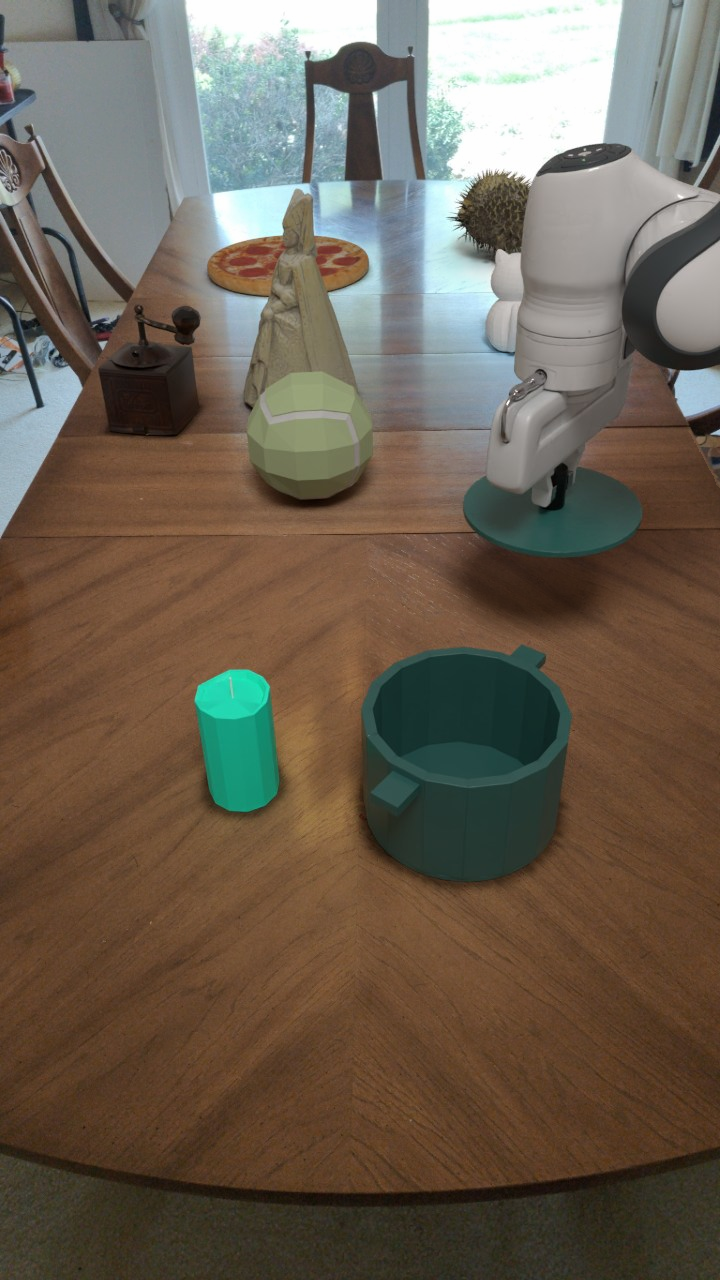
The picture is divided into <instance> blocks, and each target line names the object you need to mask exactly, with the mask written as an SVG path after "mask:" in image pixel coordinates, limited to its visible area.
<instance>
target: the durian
mask: <svg viewBox="0 0 720 1280" xmlns="http://www.w3.org/2000/svg"><path fill="white" fill-rule="evenodd" d="M499 170H500V169H495V171H494V173H493V170H491V169H486V171H485V172H484V171H482V176H481V175H480V173H476V174H477V176H475V175H472V176H473V177H474V179H475V181H474V180H473V179H472V178H470V180H469V181H470V182H469V181H467V183H468V184H469V185H470V186H468V185H467V184H465V183H464V184H465V188H466V189H462V191H464V192H462V191H460V193H459V196H460V197H461V198H462V199H463V200H459V199H457V201H455V204H459V206H457V207H456V210H458V211H457V212H450V211H449V213H451V214H454V215H456V216H447V217H445V219H447V220H448V221H449V222H456V223H460V224H455V225H454V227H455V228H454V229H453V230H452V232H454V231H456V230H458V229H461V230H463V229H465V232H464V233H463V234H462V235H461V236H460V237H458V238H457V239H458V240H457V239H456V242H458V241H459V240H460V239H461V238H463V237H464V240H465V242H467V238H468V239H469V240H468V241H469V242H472V244H473V249H474V250H477V254H478V255H479V252H480V251H479V250H480V249H482V250H483V254H484V253H485V252H487V257H490V256H489V255H490V251H491V250H492V261H495V256H496V251H497V250H498V249H502V250H503V251H505V252H506V253H507V254H509V252H510V254H512V253H521V247H522V235H523V226H524V218H525V211H526V205H527V200H528V195H529V191H530V187H531V184H532V180H531V178H529V179H528V180H526V179H525V178H526V176H524V175H523V174H524V173H522V174H521V175H520V176H518V177H516V176H517V175H518V174H519V172H518V171H515V172H514V173H513V174H512V175H511V173H512V171H509V170H507V171H505V167H504V168H503V170H502V171H501V172H500V171H499ZM510 175H511V176H510ZM525 180H526V181H525ZM467 189H468V190H467ZM471 239H472V241H471ZM475 244H476V245H475ZM475 248H476V249H475ZM485 250H486V251H485ZM513 251H514V252H513Z"/></svg>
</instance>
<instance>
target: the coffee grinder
mask: <svg viewBox="0 0 720 1280" xmlns="http://www.w3.org/2000/svg"><path fill="white" fill-rule="evenodd" d="M133 310H134V313H135V314H134V317H133V318H134V321H135V322H137V328H138V336H139V339H138V341H137V342H126V343H124V344H123V345H122V346H121V347H119V348H118V349H117V350H116V351H115V352H114V353H113V354H111V356H110V357H108V358H107V359H106V360H105V361H104V362H103V363H101V364H100V366H99V367H98V368H97V371H98V376H99V381H100V387H101V391H102V395H103V397H102V398H103V402H104V407H105V411H106V417H107V422H108V428H109V430H108V431H109V432H112V433H120V434H121V433H122V434H130V435H140V436H176V435H178V434H179V433H180V432H182V430H184V429H185V428H186V427H187V426H188V424H189V423H190V422H191V421H192V420H193V418H194V417H195V416H196V414H197V412H198V410H199V407H200V403H199V396H198V390H197V389H198V388H197V381H196V372H195V364H194V363H195V361H194V353H193V348H192V346H190V345H192V344H195V341H196V338H195V335H194V333H195V332H196V330H197V329H198V328H199V327H200V325H201V319H202V317H201V314H200V312H199V310H197V309H195V308H193V307H192V306H189V305H181V306H178V307H176V308H174V310H173V311H172V313H171V321H172V324H173V325H171V324H169V323H164V322H160V321H156V320H154V319H151V318H147V317H146V315H145V313H144V310H145V308H144V306H143V305H142V304H140V303H137V304H135V305H134V307H133ZM145 325H146V326H148V327H151V328H154V329H158V330H162V331H166V332H169V333H172V334H174V336H173V337H174V341H175V342H177V343H178V344H180V345H174V344H173V345H171V344H162V343H161V342H156V341H151V340H148V338H147V333H146V326H145Z"/></svg>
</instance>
